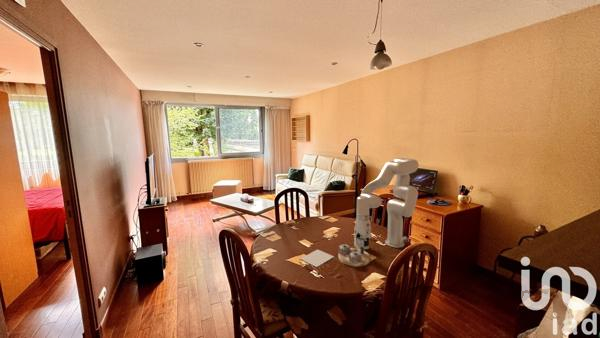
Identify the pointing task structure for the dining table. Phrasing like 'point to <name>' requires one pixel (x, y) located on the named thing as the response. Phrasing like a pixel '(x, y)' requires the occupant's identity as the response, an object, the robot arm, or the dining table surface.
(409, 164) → the robot arm
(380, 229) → the dining table surface
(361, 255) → the carrier
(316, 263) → the paper stack
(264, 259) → the dining table surface
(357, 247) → the supplement box
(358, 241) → the planet gear
